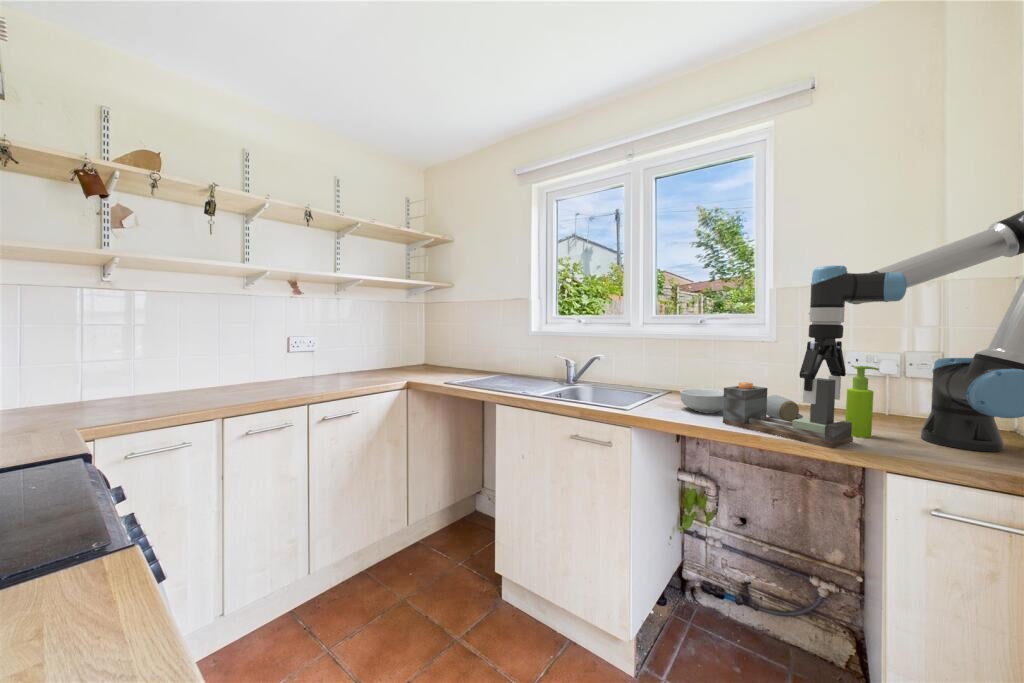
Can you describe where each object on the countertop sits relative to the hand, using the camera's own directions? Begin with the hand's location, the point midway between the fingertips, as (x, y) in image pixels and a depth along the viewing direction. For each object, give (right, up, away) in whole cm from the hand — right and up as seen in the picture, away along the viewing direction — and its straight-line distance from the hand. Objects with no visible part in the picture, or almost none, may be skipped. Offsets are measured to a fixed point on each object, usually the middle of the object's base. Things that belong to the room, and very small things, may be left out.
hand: (821, 401), depth 115 cm
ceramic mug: (+6, -10, +25) cm, 28 cm away
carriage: (-1, -8, +2) cm, 8 cm away
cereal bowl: (-15, -9, +38) cm, 42 cm away
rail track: (-5, -10, +9) cm, 15 cm away
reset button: (-11, 0, +19) cm, 21 cm away
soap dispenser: (+15, -11, +6) cm, 20 cm away
